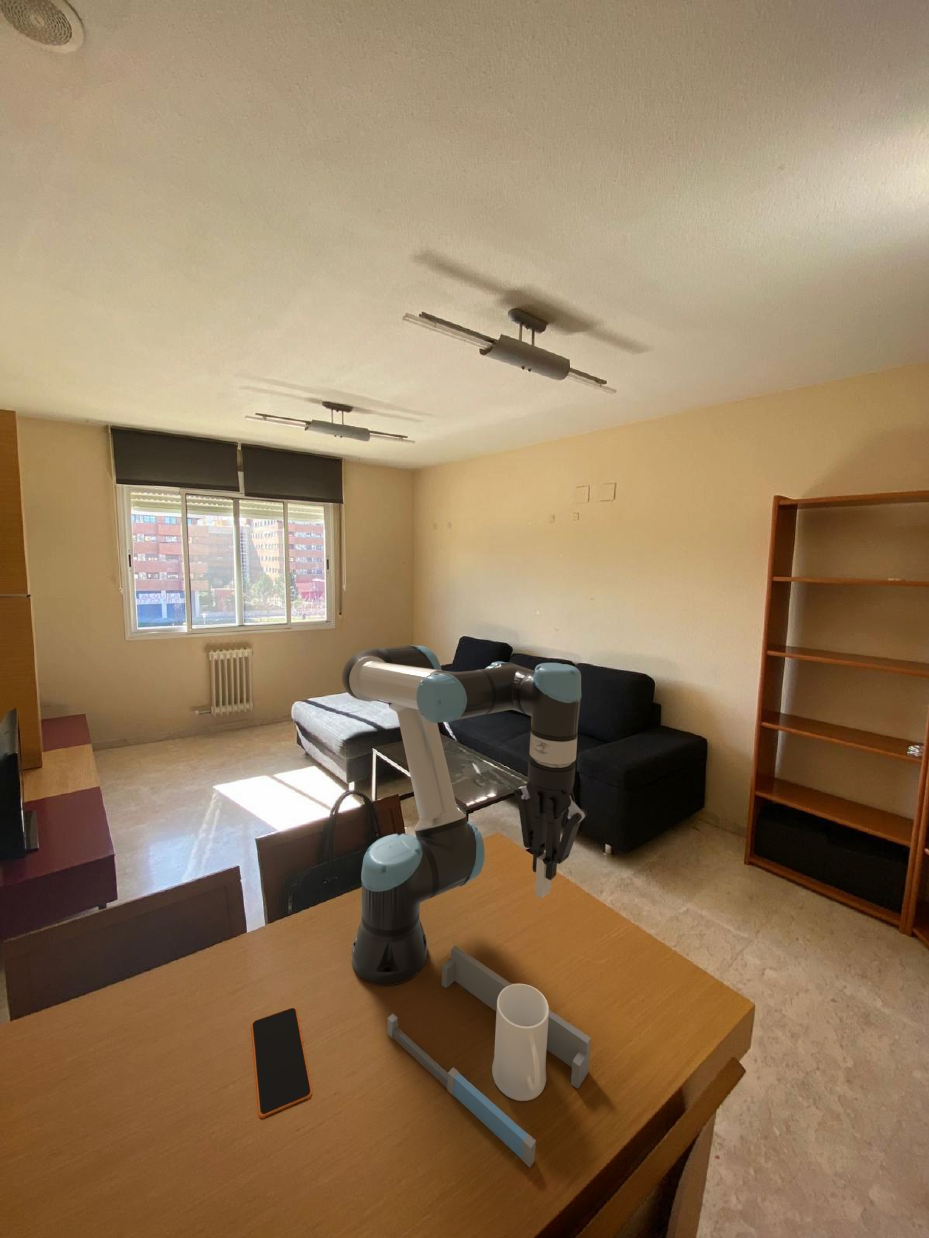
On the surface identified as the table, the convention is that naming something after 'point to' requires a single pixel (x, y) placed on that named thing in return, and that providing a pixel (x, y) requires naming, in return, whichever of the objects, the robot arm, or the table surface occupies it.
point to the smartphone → (279, 1062)
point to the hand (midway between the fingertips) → (542, 892)
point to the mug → (521, 1042)
